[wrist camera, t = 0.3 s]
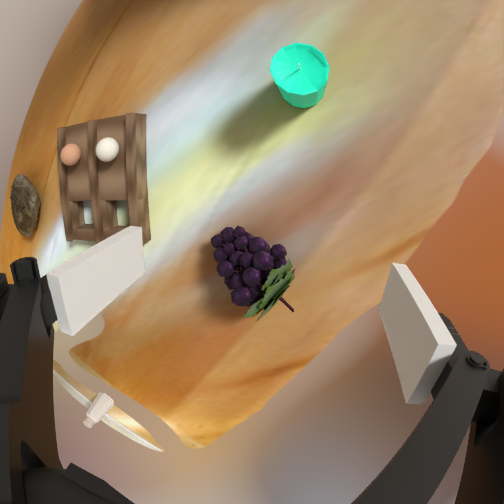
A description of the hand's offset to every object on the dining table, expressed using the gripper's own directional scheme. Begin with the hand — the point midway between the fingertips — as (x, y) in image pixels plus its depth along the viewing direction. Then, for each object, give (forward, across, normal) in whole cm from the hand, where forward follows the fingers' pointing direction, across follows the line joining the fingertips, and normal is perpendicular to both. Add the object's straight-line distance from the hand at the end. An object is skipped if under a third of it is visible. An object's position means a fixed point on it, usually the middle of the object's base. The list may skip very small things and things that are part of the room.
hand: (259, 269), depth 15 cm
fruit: (+28, -3, -11) cm, 30 cm away
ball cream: (+22, -26, +4) cm, 35 cm away
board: (+27, -30, -1) cm, 41 cm away
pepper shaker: (+27, -41, -59) cm, 77 cm away
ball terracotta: (+22, -34, +4) cm, 41 cm away
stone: (+28, -52, -6) cm, 60 cm away
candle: (+28, 0, +14) cm, 31 cm away
